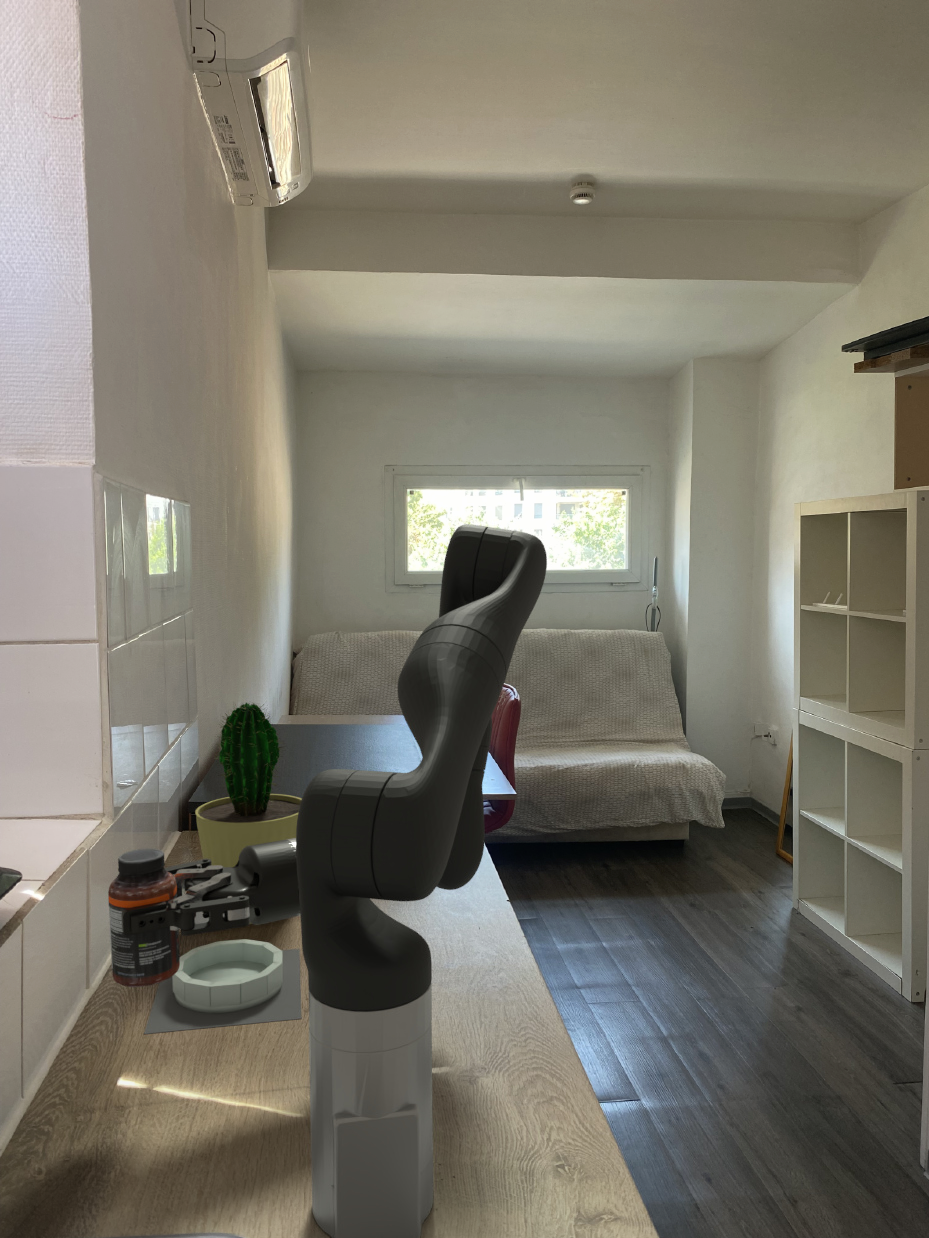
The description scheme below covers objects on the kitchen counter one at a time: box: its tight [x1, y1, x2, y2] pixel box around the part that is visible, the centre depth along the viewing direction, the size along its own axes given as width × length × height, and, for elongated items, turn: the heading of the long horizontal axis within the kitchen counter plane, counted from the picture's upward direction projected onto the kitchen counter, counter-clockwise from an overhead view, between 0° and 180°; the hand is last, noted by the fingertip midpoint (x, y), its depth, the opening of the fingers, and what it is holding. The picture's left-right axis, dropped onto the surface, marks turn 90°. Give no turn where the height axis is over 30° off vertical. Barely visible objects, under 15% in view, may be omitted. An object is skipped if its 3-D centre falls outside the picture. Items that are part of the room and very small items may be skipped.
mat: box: [143, 948, 302, 1035], centre depth 105 cm, size 18×16×1 cm
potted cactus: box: [194, 701, 302, 925], centre depth 128 cm, size 15×15×30 cm
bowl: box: [172, 938, 283, 1013], centre depth 105 cm, size 12×12×3 cm
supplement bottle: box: [107, 848, 181, 988], centre depth 84 cm, size 6×6×11 cm
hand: (116, 910), depth 83 cm, fingers closed on supplement bottle, 6 cm apart
